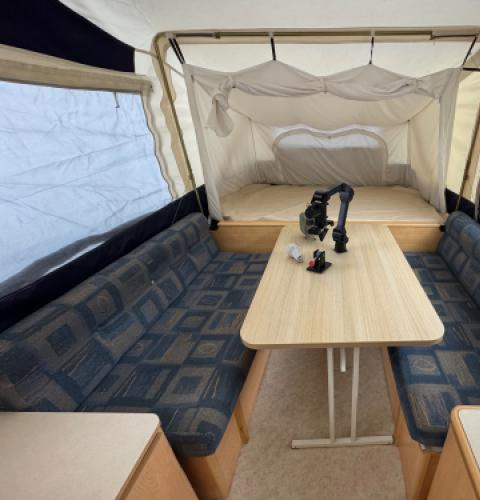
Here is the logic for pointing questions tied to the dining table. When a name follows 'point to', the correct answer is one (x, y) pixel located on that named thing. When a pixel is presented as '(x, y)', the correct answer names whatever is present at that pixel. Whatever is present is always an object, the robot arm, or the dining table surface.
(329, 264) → the switch bracket
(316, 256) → the switch lever
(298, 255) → the spotlight
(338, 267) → the dining table surface
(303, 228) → the grey lantern
